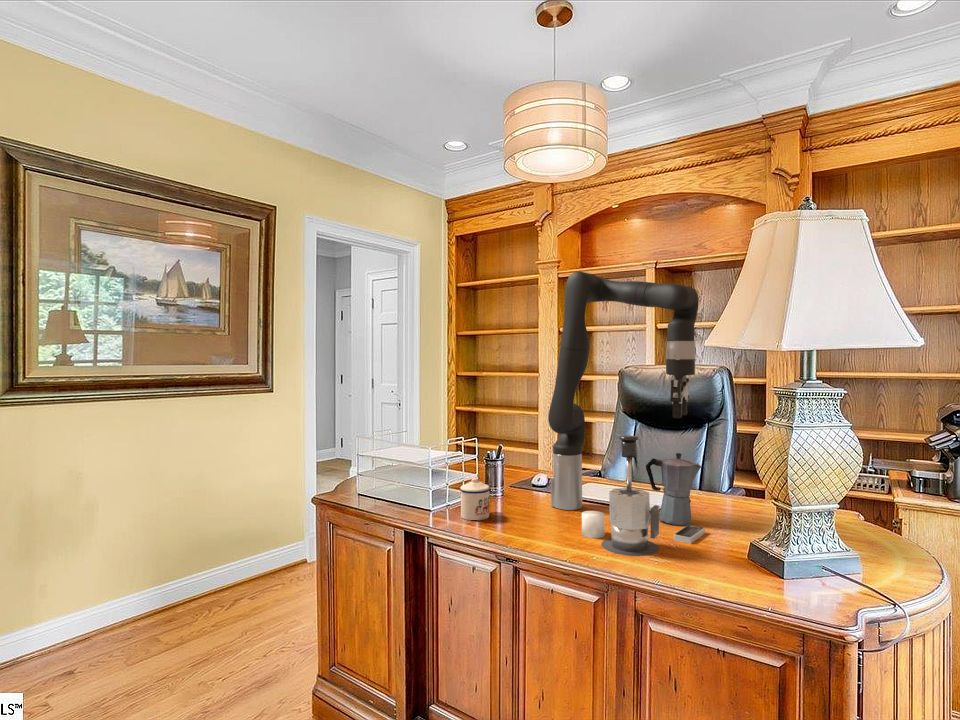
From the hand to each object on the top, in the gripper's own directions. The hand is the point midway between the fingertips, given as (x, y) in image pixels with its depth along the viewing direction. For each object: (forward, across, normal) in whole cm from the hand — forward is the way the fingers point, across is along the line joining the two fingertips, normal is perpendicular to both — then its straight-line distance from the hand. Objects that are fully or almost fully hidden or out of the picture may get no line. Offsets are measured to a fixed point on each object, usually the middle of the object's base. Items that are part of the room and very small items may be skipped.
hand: (679, 416), depth 149 cm
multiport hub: (+32, +6, +4) cm, 33 cm away
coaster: (+32, +20, -8) cm, 38 cm away
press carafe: (+31, +20, -7) cm, 38 cm away
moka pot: (+32, -8, -2) cm, 33 cm away
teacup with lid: (+33, +14, -56) cm, 67 cm away
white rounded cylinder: (+32, +16, -19) cm, 41 cm away
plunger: (+18, +20, -8) cm, 28 cm away
